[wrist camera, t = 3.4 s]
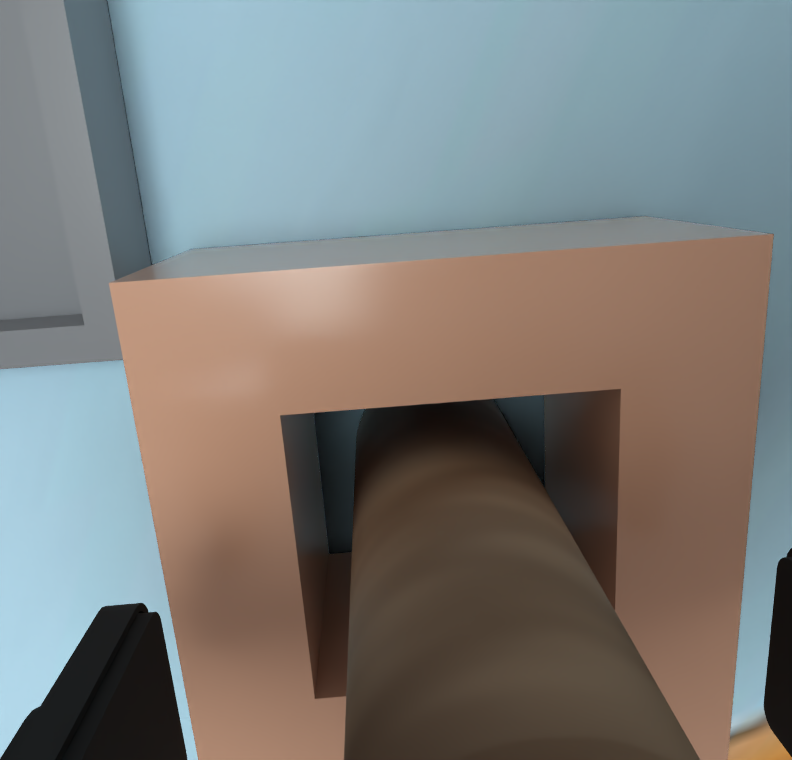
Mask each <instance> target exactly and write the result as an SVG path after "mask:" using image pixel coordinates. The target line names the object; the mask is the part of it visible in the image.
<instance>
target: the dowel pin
mask: <svg viewBox="0 0 792 760" xmlns="http://www.w3.org/2000/svg"><path fill="white" fill-rule="evenodd" d="M344 760H700V758H699V757H698V755H697V753H696V751H695V750H694V748H693V746H692V744H691V743H690V741H689V739H688V737H687V736H686V734H685V732H684V730H683V729H682V727H681V725H680V723H679V722H678V720H677V718H676V716H675V715H674V713H673V711H672V710H671V708H670V706H669V704H668V703H667V701H666V699H665V697H664V696H663V694H662V692H661V690H660V689H659V687H658V685H657V683H656V682H655V680H654V678H653V676H652V675H651V673H650V671H649V669H648V668H647V666H646V664H645V662H644V661H643V659H642V657H641V655H640V654H639V652H638V650H637V648H636V647H635V645H634V643H633V642H632V640H631V638H630V636H629V635H628V633H627V631H626V629H625V628H624V626H623V624H622V622H621V621H620V619H619V617H618V615H617V614H616V612H615V610H614V608H613V607H612V605H611V603H610V601H609V600H608V598H607V596H606V594H605V593H604V591H603V589H602V587H601V586H600V584H599V582H598V580H597V579H596V577H595V575H594V574H593V572H592V570H591V568H590V567H589V565H588V563H587V561H586V560H585V558H584V556H583V554H582V553H581V551H580V549H579V547H578V546H577V544H576V542H575V540H574V539H573V537H572V535H571V533H570V532H569V530H568V528H567V526H566V525H565V523H564V521H563V519H562V518H561V516H560V514H559V512H558V511H557V509H556V507H555V505H554V504H553V502H552V500H551V499H550V497H549V495H548V493H547V492H546V490H545V488H544V486H543V485H542V483H541V481H540V479H539V478H538V476H537V474H536V472H535V471H534V469H533V467H532V465H531V464H530V462H529V460H528V458H527V457H526V455H525V453H524V451H523V450H522V448H521V446H520V444H519V443H518V441H517V439H516V437H515V436H514V434H513V432H512V431H511V429H510V427H509V425H508V424H507V422H506V420H505V418H504V417H503V415H502V413H501V411H500V410H499V408H498V406H497V404H496V403H495V401H494V400H493V399H484V400H471V401H458V402H445V403H432V404H419V405H407V406H394V407H381V408H368V409H366V410H365V411H364V413H363V415H362V418H361V420H360V422H359V426H358V430H357V437H356V454H355V481H354V507H353V533H352V559H351V585H350V612H349V638H348V664H347V690H346V716H345V743H344Z"/></svg>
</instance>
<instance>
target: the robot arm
mask: <svg viewBox="0 0 792 760" xmlns="http://www.w3.org/2000/svg"><path fill="white" fill-rule="evenodd" d="M764 710H765V715H766V718H767V721H768V724H769V726H770V728H771V729H772V731H773V733H774V734H775V735H776V737H777V738H778V739H779V741H780V742H781V743H782V745H783V746H784V747H785V749H786V750H787V751H788V753H789V754H790V755H791V757H792V548H791V549H790V550H789V552H788V554H787V557H785V558H782V559H780V561H779V562H778V566H777V574H776V585H775V595H774V605H773V615H772V625H771V635H770V646H769V656H768V666H767V676H766V686H765V696H764ZM0 760H187V754H186V749H185V744H184V738H183V733H182V728H181V723H180V717H179V712H178V707H177V702H176V696H175V691H174V686H173V681H172V675H171V670H170V665H169V660H168V654H167V649H166V644H165V639H164V633H163V628H162V623H161V619H160V616H159V614H158V613H157V612H150V613H148V609H147V607H146V606H145V605H144V604H143V603H137V604H125V605H114V606H105V607H102V608H101V609H100V611H99V612H98V613H97V615H96V617H95V618H94V620H93V622H92V623H91V625H90V626H89V628H88V630H87V631H86V633H85V635H84V636H83V638H82V639H81V641H80V643H79V644H78V646H77V648H76V649H75V651H74V653H73V654H72V656H71V657H70V659H69V661H68V662H67V664H66V666H65V667H64V669H63V670H62V672H61V674H60V675H59V677H58V679H57V680H56V682H55V683H54V685H53V687H52V688H51V690H50V692H49V693H48V695H47V696H46V698H45V700H44V701H43V703H42V705H41V706H40V707H38V708H36V709H34V710H33V711H32V712H31V713H30V714H29V715H28V716H27V718H26V719H25V720H24V722H23V723H22V725H21V727H20V728H19V730H18V731H17V733H16V735H15V736H14V738H13V739H12V741H11V743H10V744H9V746H8V747H7V749H6V750H5V752H4V754H3V755H2V757H1V758H0Z"/></svg>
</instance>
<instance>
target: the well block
mask: <svg viewBox="0 0 792 760" xmlns="http://www.w3.org/2000/svg"><path fill="white" fill-rule="evenodd" d="M773 236H774V234H770V233H763V232H756V231H748V230H741V229H734V228H727V227H720V226H713V225H706V224H698V223H691V222H684V221H677V220H670V219H663V218H655V217H648V216H639V217H625V218H611V219H598V220H584V221H570V222H556V223H543V224H529V225H515V226H501V227H488V228H474V229H460V230H446V231H433V232H419V233H405V234H392V235H378V236H364V237H350V238H337V239H323V240H309V241H295V242H282V243H268V244H254V245H240V246H227V247H213V248H199V249H190V250H188V251H185V252H183V253H180V254H178V255H176V256H173V257H171V258H168V259H166V260H163V261H161V262H159V263H156V264H154V265H151V266H149V267H146V268H144V269H142V270H139V271H137V272H134V273H132V274H129V275H127V276H125V277H122V278H120V279H117V280H115V281H112V282H110V283H109V287H110V292H111V297H112V303H113V308H114V313H115V319H116V324H117V329H118V335H119V340H120V345H121V351H122V356H123V361H124V367H125V372H126V377H127V383H128V388H129V393H130V399H131V404H132V409H133V415H134V420H135V425H136V431H137V436H138V441H139V446H140V452H141V457H142V462H143V468H144V473H145V478H146V484H147V489H148V494H149V500H150V505H151V510H152V516H153V521H154V526H155V532H156V537H157V542H158V548H159V553H160V558H161V564H162V569H163V574H164V580H165V585H166V590H167V595H168V601H169V606H170V611H171V617H172V622H173V627H174V633H175V638H176V643H177V649H178V654H179V659H180V665H181V670H182V675H183V681H184V686H185V691H186V697H187V702H188V707H189V713H190V718H191V723H192V729H193V734H194V739H195V745H196V750H197V755H198V760H344V743H345V716H346V690H347V664H348V638H349V612H350V585H351V559H352V552H346V553H333V554H329V547H328V538H327V529H326V520H325V510H324V501H323V492H322V483H321V473H320V464H319V455H318V446H317V436H316V427H315V418H314V413H317V412H330V411H342V410H355V409H368V408H381V407H394V406H407V405H419V404H432V403H445V402H458V401H471V400H484V399H496V398H509V397H522V396H535V395H544V448H545V490H546V492H547V493H548V495H549V497H550V499H551V500H552V502H553V504H554V505H555V507H556V509H557V511H558V512H559V514H560V516H561V518H562V519H563V521H564V523H565V525H566V526H567V528H568V530H569V532H570V533H571V535H572V537H573V539H574V540H575V542H576V544H577V546H578V547H579V549H580V551H581V553H582V554H583V556H584V558H585V560H586V561H587V563H588V565H589V567H590V568H591V570H592V572H593V574H594V575H595V577H596V579H597V580H598V582H599V584H600V586H601V587H602V589H603V591H604V593H605V594H606V596H607V598H608V600H609V601H610V603H611V605H612V607H613V608H614V610H615V612H616V614H617V615H618V617H619V619H620V621H621V622H622V624H623V626H624V628H625V629H626V631H627V633H628V635H629V636H630V638H631V640H632V642H633V643H634V645H635V647H636V648H637V650H638V652H639V654H640V655H641V657H642V659H643V661H644V662H645V664H646V666H647V668H648V669H649V671H650V673H651V675H652V676H653V678H654V680H655V682H656V683H657V685H658V687H659V689H660V690H661V692H662V694H663V696H664V697H665V699H666V701H667V703H668V704H669V706H670V708H671V710H672V711H673V713H674V715H675V716H676V718H677V720H678V722H679V723H680V725H681V727H682V729H683V730H684V732H685V734H686V736H687V737H688V739H689V741H690V743H691V744H692V746H693V748H694V750H695V751H696V753H697V755H698V757H699V758H700V760H728V750H729V739H730V727H731V716H732V705H733V693H734V682H735V670H736V659H737V647H738V636H739V625H740V613H741V602H742V590H743V579H744V567H745V556H746V545H747V533H748V522H749V510H750V499H751V488H752V476H753V465H754V453H755V442H756V430H757V419H758V408H759V396H760V385H761V373H762V362H763V350H764V339H765V328H766V316H767V305H768V293H769V282H770V271H771V259H772V248H773Z"/></svg>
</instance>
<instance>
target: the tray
mask: <svg viewBox="0 0 792 760" xmlns="http://www.w3.org/2000/svg"><path fill="white" fill-rule="evenodd" d="M149 266H151V259H150V253H149V248H148V242H147V236H146V230H145V224H144V218H143V212H142V206H141V200H140V194H139V188H138V182H137V177H136V171H135V165H134V159H133V153H132V147H131V141H130V135H129V129H128V123H127V117H126V111H125V105H124V100H123V94H122V88H121V82H120V76H119V70H118V64H117V58H116V52H115V46H114V40H113V34H112V28H111V23H110V17H109V11H108V5H107V0H0V369H8V368H21V367H34V366H47V365H60V364H73V363H87V362H100V361H113V360H123V356H122V351H121V345H120V340H119V335H118V329H117V324H116V319H115V313H114V308H113V303H112V297H111V292H110V287H109V283H110V282H112V281H115V280H117V279H120V278H122V277H125V276H127V275H129V274H132V273H134V272H137V271H139V270H142V269H144V268H146V267H149Z"/></svg>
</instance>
